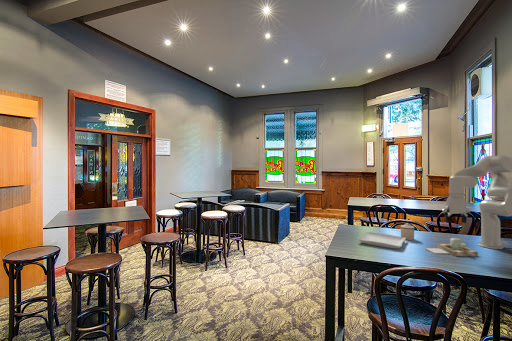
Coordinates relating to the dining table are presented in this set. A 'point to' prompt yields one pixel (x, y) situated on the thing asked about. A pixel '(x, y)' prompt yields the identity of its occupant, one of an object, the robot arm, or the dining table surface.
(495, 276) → the dining table surface
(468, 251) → the stand
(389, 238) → the square plate
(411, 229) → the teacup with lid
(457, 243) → the jug
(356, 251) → the dining table surface
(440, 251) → the pad
